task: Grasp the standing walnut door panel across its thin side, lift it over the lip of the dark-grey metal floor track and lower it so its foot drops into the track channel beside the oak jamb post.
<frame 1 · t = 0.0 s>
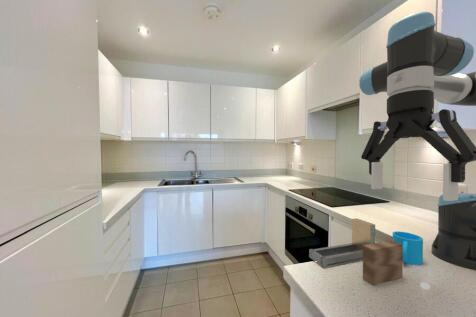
hand: (408, 193, 42), 28 cm above the counter, fingers open, 13 cm apart
mug: (406, 261, 68), on the counter
door track: (342, 257, 70), on the counter
door panel: (382, 278, 58), on the counter
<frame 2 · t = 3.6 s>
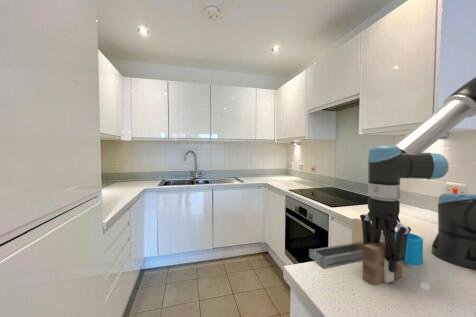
hand: (382, 277, 58), 0 cm above the counter, fingers closed on door panel, 3 cm apart
door panel: (382, 278, 58), on the counter, touching gripper
everything else where it was.
when the fingers open (4 cm above the counter, at t = 7.8 s): door panel drops 3 cm, resting on door track.
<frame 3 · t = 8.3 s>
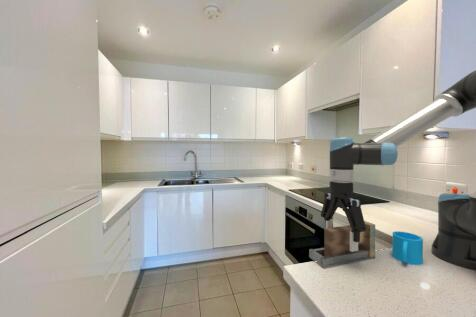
hand: (340, 243, 70), 5 cm above the counter, fingers open, 10 cm apart
door panel: (341, 256, 70), point 1 cm above the counter, touching door track
everything else where it was.
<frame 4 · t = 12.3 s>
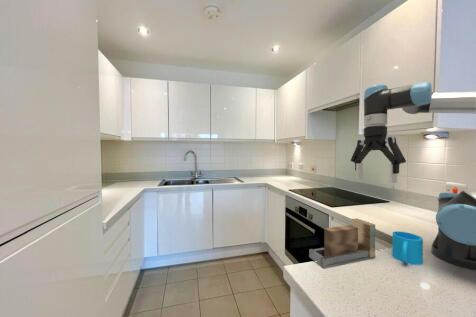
hand: (374, 180, 77), 27 cm above the counter, fingers open, 13 cm apart
nothing on the counter moved.
at the end: door panel inside the target area on the door track (0.1 cm from its centre), point 0.6 cm above the door track's base; door panel tilted 0°; the gripper is holding nothing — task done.
